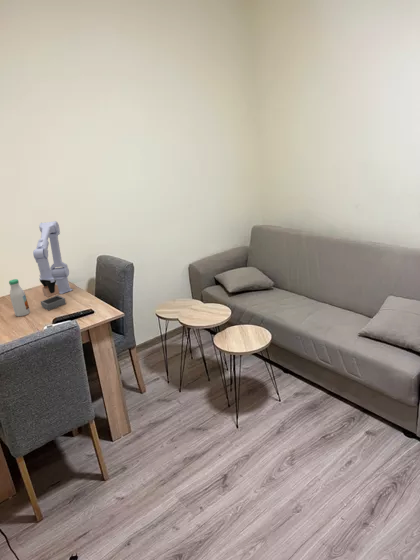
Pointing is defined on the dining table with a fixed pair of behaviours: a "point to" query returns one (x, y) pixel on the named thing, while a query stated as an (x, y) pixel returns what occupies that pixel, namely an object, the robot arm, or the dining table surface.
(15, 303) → the milk bottle
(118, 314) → the dining table surface
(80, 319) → the dining table surface
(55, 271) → the robot arm
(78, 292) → the dining table surface
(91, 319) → the dining table surface
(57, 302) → the large crate
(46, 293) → the small crate
